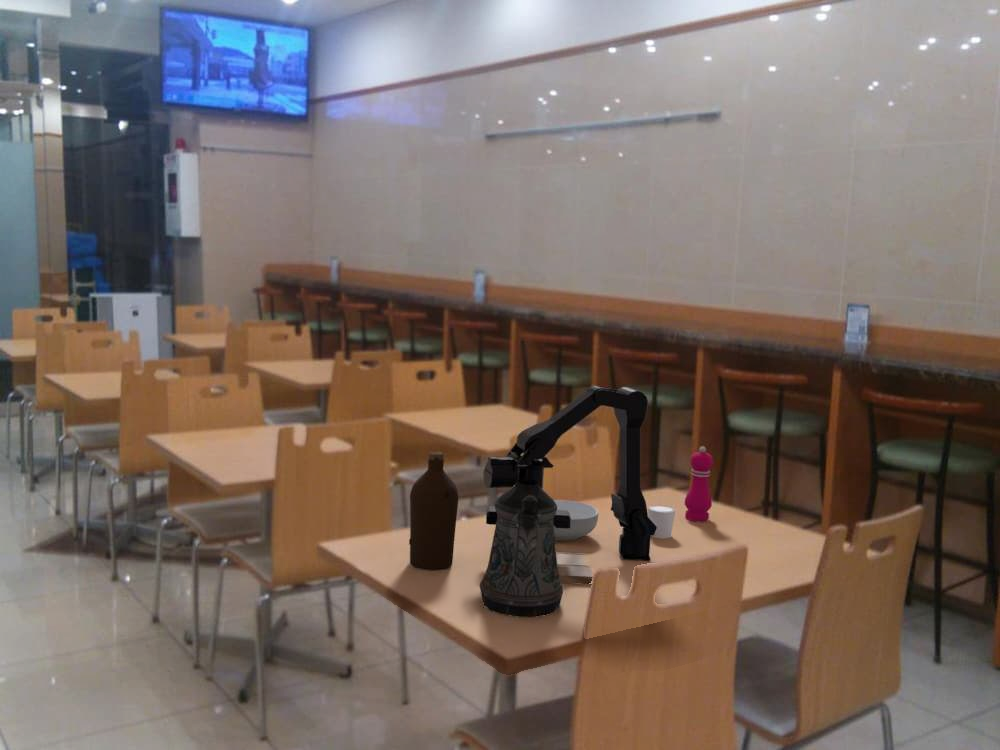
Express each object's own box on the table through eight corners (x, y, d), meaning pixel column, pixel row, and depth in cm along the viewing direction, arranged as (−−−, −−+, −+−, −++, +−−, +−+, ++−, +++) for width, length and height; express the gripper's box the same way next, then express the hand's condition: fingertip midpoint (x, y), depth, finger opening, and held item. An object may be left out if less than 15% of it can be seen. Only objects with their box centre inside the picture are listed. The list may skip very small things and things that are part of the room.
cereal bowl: (514, 532, 250) (516, 504, 249) (562, 523, 261) (563, 496, 260) (563, 550, 238) (565, 521, 237) (610, 539, 249) (612, 511, 248)
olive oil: (463, 561, 225) (468, 452, 222) (441, 574, 215) (447, 460, 212) (421, 553, 229) (426, 445, 226) (398, 565, 219) (403, 453, 216)
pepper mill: (678, 515, 275) (684, 443, 272) (702, 514, 277) (708, 443, 275) (691, 522, 268) (697, 449, 266) (715, 522, 270) (721, 449, 268)
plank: (584, 560, 229) (584, 553, 228) (587, 572, 222) (587, 565, 221) (509, 556, 228) (510, 549, 228) (510, 568, 221) (510, 561, 221)
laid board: (589, 573, 221) (589, 566, 221) (592, 584, 214) (593, 576, 214) (507, 569, 221) (508, 562, 221) (508, 580, 214) (508, 572, 214)
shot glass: (678, 538, 253) (680, 511, 252) (654, 540, 250) (657, 512, 249) (664, 530, 259) (666, 504, 258) (641, 532, 256) (643, 505, 256)
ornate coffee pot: (535, 585, 212) (542, 469, 209) (585, 617, 195) (594, 491, 192) (465, 594, 204) (471, 473, 201) (511, 628, 187) (519, 497, 184)
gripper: (569, 480, 232) (564, 545, 234) (488, 476, 232) (484, 541, 234) (572, 492, 221) (568, 560, 223) (488, 487, 221) (484, 556, 223)
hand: (525, 554), depth 226 cm, fingers closed, pressing on plank
